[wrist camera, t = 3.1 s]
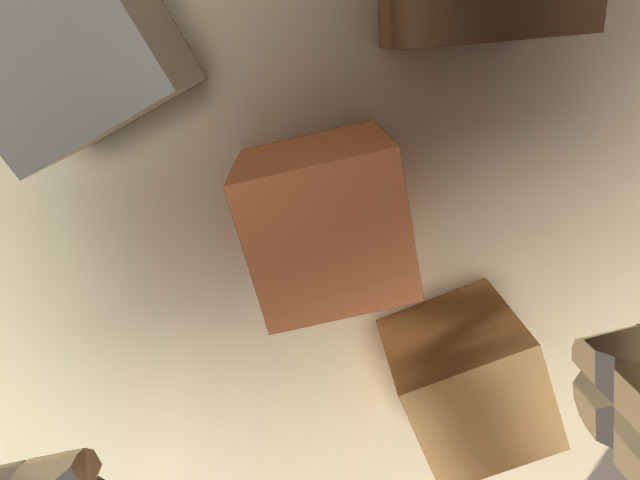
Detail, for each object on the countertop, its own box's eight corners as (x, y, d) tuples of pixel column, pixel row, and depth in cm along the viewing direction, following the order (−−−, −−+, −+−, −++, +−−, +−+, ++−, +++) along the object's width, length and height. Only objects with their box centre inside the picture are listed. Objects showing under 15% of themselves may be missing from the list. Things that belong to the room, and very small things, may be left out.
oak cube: (485, 277, 21) (540, 344, 16) (513, 366, 23) (570, 449, 18) (375, 319, 21) (398, 396, 17) (412, 402, 23) (441, 492, 18)
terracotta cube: (372, 119, 18) (399, 146, 13) (394, 240, 20) (424, 301, 15) (241, 149, 18) (223, 186, 14) (275, 267, 20) (269, 335, 15)
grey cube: (121, -69, 15) (47, -117, 11) (207, 77, 17) (175, 91, 13) (-4, 11, 16) (-125, -1, 11) (91, 144, 18) (19, 180, 13)
